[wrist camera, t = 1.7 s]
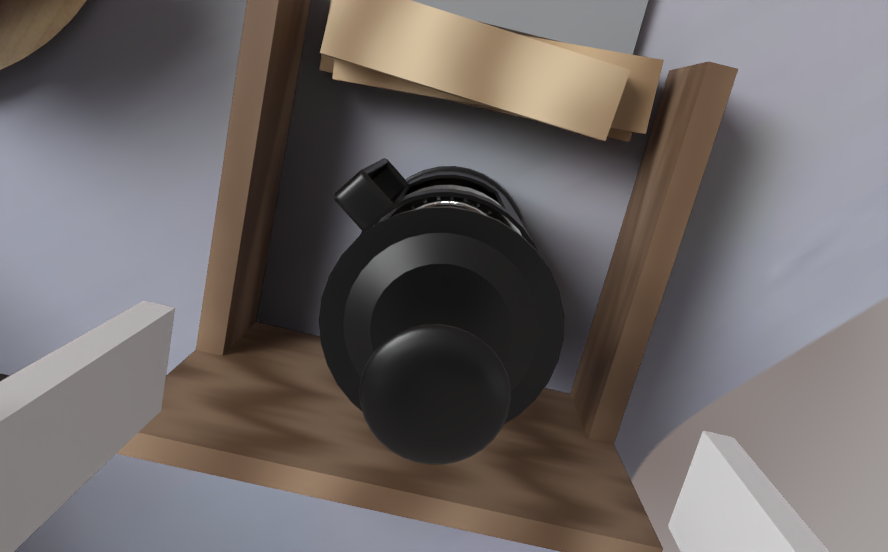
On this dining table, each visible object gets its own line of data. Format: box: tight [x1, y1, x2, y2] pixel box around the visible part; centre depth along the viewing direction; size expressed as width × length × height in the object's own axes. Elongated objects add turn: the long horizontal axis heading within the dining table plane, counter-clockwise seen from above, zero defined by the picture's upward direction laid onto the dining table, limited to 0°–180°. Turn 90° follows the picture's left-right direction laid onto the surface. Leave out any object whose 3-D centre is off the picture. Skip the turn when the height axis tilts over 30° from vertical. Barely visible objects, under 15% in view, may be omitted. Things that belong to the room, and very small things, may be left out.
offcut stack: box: [319, 0, 664, 142], centre depth 34 cm, size 18×5×6 cm, turn 77°
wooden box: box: [116, 0, 738, 552], centre depth 32 cm, size 24×22×15 cm
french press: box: [319, 158, 564, 465], centre depth 28 cm, size 12×9×23 cm
